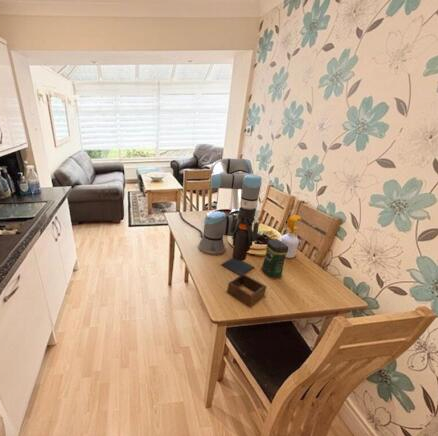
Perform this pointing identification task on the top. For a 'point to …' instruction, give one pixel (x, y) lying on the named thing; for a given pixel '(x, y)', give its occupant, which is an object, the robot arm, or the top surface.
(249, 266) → the mat
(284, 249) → the coffee jar
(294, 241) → the soap bottle
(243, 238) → the vinegar
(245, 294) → the box
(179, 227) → the top surface
